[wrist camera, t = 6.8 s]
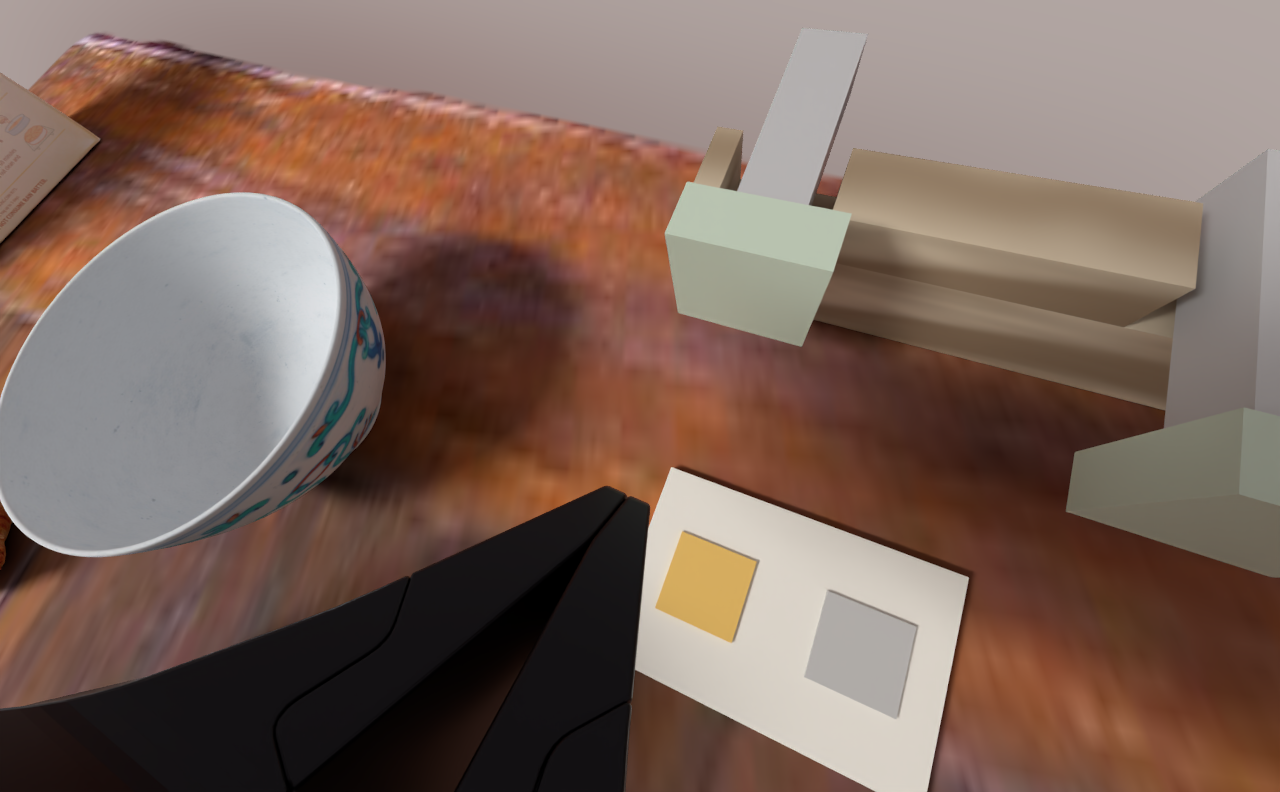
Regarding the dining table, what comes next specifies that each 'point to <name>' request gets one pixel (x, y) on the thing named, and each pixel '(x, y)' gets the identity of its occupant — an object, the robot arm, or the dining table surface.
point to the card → (800, 631)
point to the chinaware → (190, 380)
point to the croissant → (3, 532)
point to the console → (1005, 267)
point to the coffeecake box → (33, 151)
